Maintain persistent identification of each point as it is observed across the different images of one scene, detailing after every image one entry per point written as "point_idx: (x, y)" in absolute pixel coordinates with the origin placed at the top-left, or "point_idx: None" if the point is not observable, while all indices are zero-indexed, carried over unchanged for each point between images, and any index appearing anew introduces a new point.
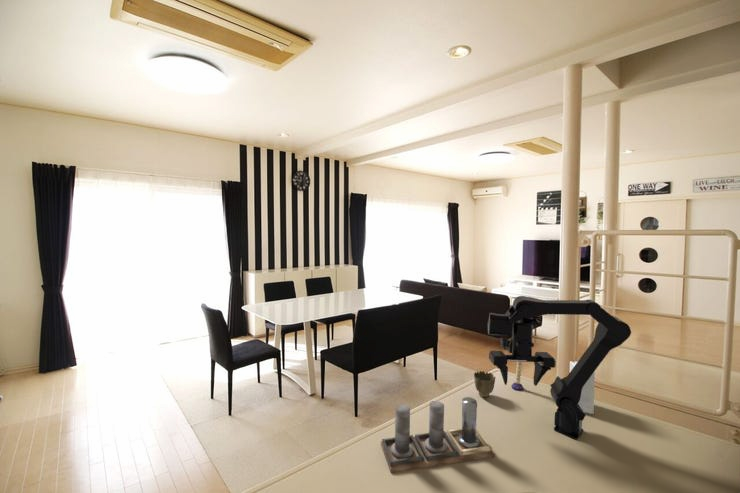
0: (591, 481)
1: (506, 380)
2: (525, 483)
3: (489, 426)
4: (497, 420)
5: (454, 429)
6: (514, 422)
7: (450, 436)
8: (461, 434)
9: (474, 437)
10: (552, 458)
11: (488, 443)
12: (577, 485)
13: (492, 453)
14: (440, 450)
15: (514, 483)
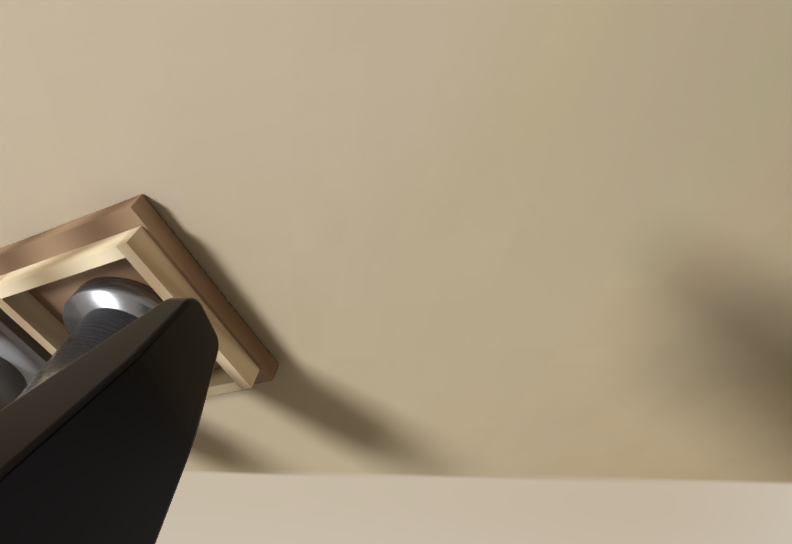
0: (714, 464)
1: (166, 469)
2: (399, 467)
3: (243, 115)
4: (311, 4)
5: (18, 280)
6: (476, 7)
7: (27, 328)
8: (74, 309)
9: None
10: (601, 362)
11: (233, 369)
12: (624, 476)
13: (265, 381)
14: None
15: (356, 466)
